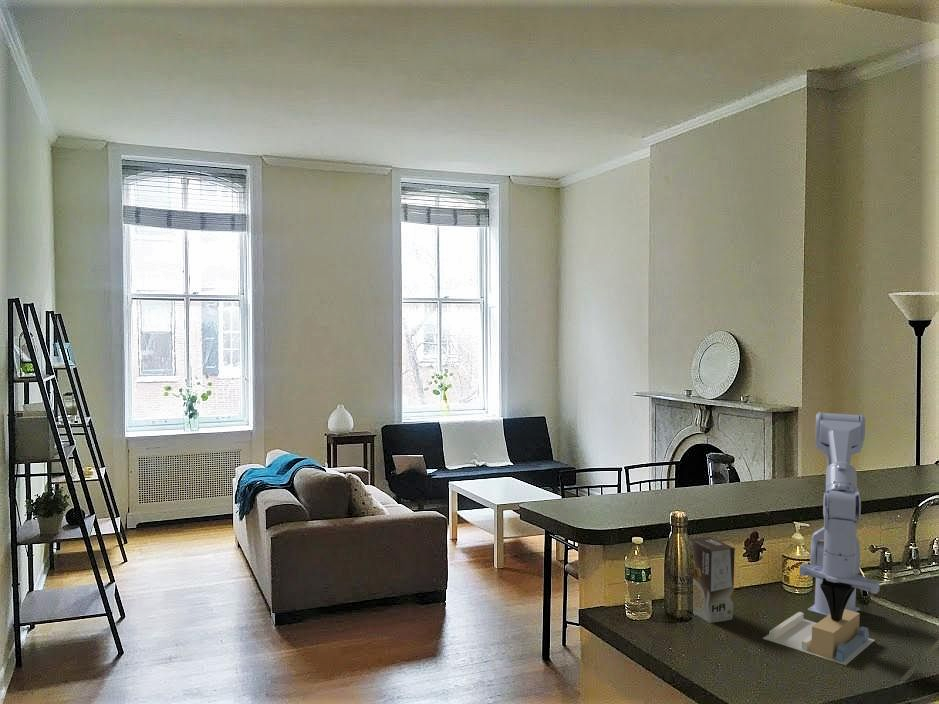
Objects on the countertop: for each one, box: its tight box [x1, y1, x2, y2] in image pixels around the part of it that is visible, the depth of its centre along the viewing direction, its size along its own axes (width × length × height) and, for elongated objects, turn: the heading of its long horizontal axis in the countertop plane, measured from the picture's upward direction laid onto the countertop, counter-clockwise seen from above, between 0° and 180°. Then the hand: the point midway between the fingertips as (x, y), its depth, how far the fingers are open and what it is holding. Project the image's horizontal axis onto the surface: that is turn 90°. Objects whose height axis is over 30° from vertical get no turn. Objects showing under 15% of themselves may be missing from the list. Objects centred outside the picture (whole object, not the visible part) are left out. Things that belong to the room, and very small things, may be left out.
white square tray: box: [762, 611, 876, 666], centre depth 157 cm, size 16×16×3 cm
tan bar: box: [811, 609, 860, 658], centre depth 155 cm, size 14×4×5 cm, turn 135°
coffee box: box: [688, 536, 736, 624], centre depth 169 cm, size 9×6×16 cm
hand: (836, 619), depth 155 cm, fingers closed
